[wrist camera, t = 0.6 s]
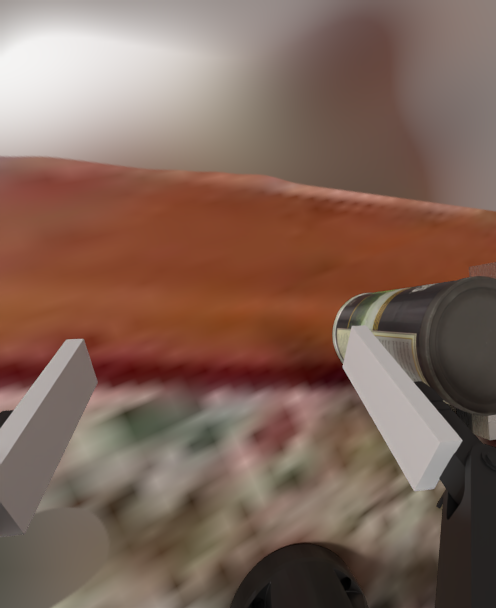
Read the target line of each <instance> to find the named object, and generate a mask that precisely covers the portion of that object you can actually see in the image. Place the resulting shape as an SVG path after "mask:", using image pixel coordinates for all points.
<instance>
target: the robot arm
mask: <svg viewBox="0 0 496 608" xmlns="http://www.w3.org/2000/svg"><path fill="white" fill-rule="evenodd" d="M342 367H343V369H344V371H345V373H346V374H347V376H348V378H349V379H350V381H351V383H352V385H353V386H354V388H355V390H356V392H357V393H358V395H359V397H360V398H361V400H362V402H363V404H364V405H365V407H366V409H367V411H368V412H369V414H370V416H371V417H372V419H373V421H374V423H375V424H376V426H377V428H378V430H379V431H380V433H381V435H382V436H383V438H384V440H385V442H386V443H387V445H388V447H389V449H390V450H391V452H392V454H393V455H394V457H395V459H396V461H397V462H398V464H399V466H400V468H401V469H402V471H403V473H404V474H405V476H406V478H407V480H408V481H409V483H410V485H411V487H412V488H413V490H414V491H421V490H430V489H434V488H435V486H436V485H437V483H438V481H439V480H441V482H442V483H443V485H444V486H445V488H446V490H445V492H444V493H443V495H442V496H441V498H440V500H439V501H438V503H437V506H436V507H438V508H440V507H441V506H442V504H443V509H442V522H441V535H440V548H439V562H438V575H437V588H436V601H435V608H496V448H495V447H493V446H489V445H486V444H483V443H482V442H481V441H480V440H479V439H478V438H477V437H476V436H475V435H474V434H473V433H472V431H471V430H470V429H469V428H468V427H467V426H466V425H465V424H464V422H463V421H462V420H461V419H460V418H459V417H458V416H457V415H456V414H455V412H454V411H453V410H451V408H450V407H449V406H448V405H447V404H446V402H443V399H442V398H441V397H440V396H439V395H438V394H437V392H436V391H435V390H434V389H432V388H431V387H429V386H428V385H427V384H425V383H424V382H422V381H416V382H413V381H412V380H411V378H410V377H409V376H408V375H407V374H406V372H405V371H404V370H403V369H402V368H401V366H400V365H399V364H398V363H397V362H396V361H395V359H394V358H393V357H392V356H391V355H390V353H389V352H388V351H387V350H386V349H385V347H384V346H383V345H382V344H381V343H380V341H379V340H378V339H377V338H376V337H375V336H374V334H373V333H372V332H371V331H370V330H369V328H368V327H367V326H366V325H362V326H352V327H351V331H350V336H349V340H348V344H347V349H346V353H345V358H344V362H343V366H342ZM97 383H98V382H97V379H96V375H95V372H94V369H93V366H92V363H91V360H90V357H89V354H88V351H87V348H86V344H85V341H84V339H69V340H66V341H65V342H64V344H63V345H62V346H61V348H60V349H59V350H58V352H57V353H56V354H55V356H54V357H53V358H52V360H51V361H50V362H49V364H48V365H47V366H46V368H45V369H44V370H43V372H42V373H41V374H40V376H39V377H38V378H37V380H36V381H35V382H34V384H33V385H32V386H31V388H30V389H29V390H28V392H27V393H26V394H25V396H24V397H23V399H22V400H21V401H20V403H19V404H18V405H17V407H16V408H15V409H14V410H11V411H2V412H1V413H0V537H4V536H13V535H22V534H25V532H26V530H27V528H28V526H29V524H30V522H31V520H32V518H33V516H34V514H35V512H36V510H37V507H38V505H39V503H40V501H41V499H42V497H43V495H44V493H45V491H46V489H47V487H48V485H49V482H50V480H51V478H52V476H53V474H54V472H55V470H56V468H57V466H58V464H59V462H60V460H61V458H62V455H63V453H64V451H65V449H66V447H67V445H68V443H69V441H70V439H71V437H72V435H73V433H74V431H75V428H76V426H77V424H78V422H79V420H80V418H81V416H82V414H83V412H84V410H85V408H86V406H87V404H88V401H89V399H90V397H91V395H92V393H93V391H94V389H95V387H96V385H97ZM230 608H368V605H367V601H366V599H365V596H364V594H363V592H362V589H361V587H360V586H359V584H358V582H357V581H356V579H355V577H354V576H353V574H352V573H351V571H350V569H349V568H348V567H347V565H346V564H345V563H344V561H343V560H342V559H341V558H340V557H339V556H337V555H336V554H335V553H333V552H332V551H330V550H328V549H326V548H323V547H321V546H317V545H311V544H298V545H292V546H288V547H285V548H282V549H280V550H278V551H276V552H274V553H272V554H270V555H269V556H267V557H266V558H264V559H263V560H262V561H260V562H259V563H258V564H257V565H256V566H255V567H254V568H253V569H252V570H251V571H250V572H249V573H248V575H247V576H246V577H245V579H244V580H243V582H242V583H241V585H240V586H239V588H238V590H237V592H236V594H235V596H234V599H233V601H232V604H231V607H230Z"/></svg>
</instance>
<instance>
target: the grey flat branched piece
mask: <svg viewBox="0 0 496 608" xmlns="http://www.w3.org/2000/svg"><path fill="white" fill-rule="evenodd" d="M469 274H470V277H474V276H487V277H492V278H495V279H496V262H494V263H489V264H483V265H478V266H472V267H469ZM456 409H457V408H456ZM457 416H458V417H459V418H460V419H461V420H462V421H463V422H464V424H465V425H466V426H467V427H468V428H469V429H470V430H471V431H472V433H473V434H475V435H478V436H480V437H483V438H485V439H488V440H495V439H496V415H491V416H479V415H474V414H470V413H467V412H465V411H462V410H460V409H457Z"/></svg>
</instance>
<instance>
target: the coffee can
mask: <svg viewBox="0 0 496 608" xmlns="http://www.w3.org/2000/svg"><path fill="white" fill-rule="evenodd" d="M362 325H366V326H367V327H368V328H369V330H370V331H371V332H372V333H373V334H374V336H375V337H376V338H377V339H378V340H379V341H380V343H381V344H382V345H383V346H384V347H385V349H386V350H387V351H388V352H389V353H390V355H391V356H392V357H393V358H394V359H395V361H396V362H397V363H398V364H399V365H400V366H401V368H402V369H403V370H404V371H405V372H406V374H407V375H408V376H409V377H410V378H411V380H412V381H413V382H416V381H422V382H424V383H425V384H427V385H428V386H429V387H431V388H432V389H434V390H435V391H436V392H437V394H438V395H439V396H440V397H441V398H442V399H443V402H446V403H447V404H449V405H452V406H453V407H455V408H457V409H460V410H462V411H465V412H467V413H470V414H474V415H479V416H491V415H496V279H495V278H492V277H487V276H474V277H468V278H463V279H460V280H457V281H450V282H444V283H437V284H429V285H423V286H417V287H410V288H403V289H396V290H389V291H382V292H375V293H364V294H360V295H357V296H355V297H353V298H351V299H350V300H348V301H347V302H346V303H345V304H344V305H343V306H342V307H341V309H340V310H339V312H338V314H337V316H336V318H335V321H334V325H333V343H334V347H335V351H336V353H337V355H338V357H339V359H340V360H341V362H342V363H343V362H344V358H345V353H346V349H347V344H348V340H349V336H350V331H351V327H352V326H362Z"/></svg>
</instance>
